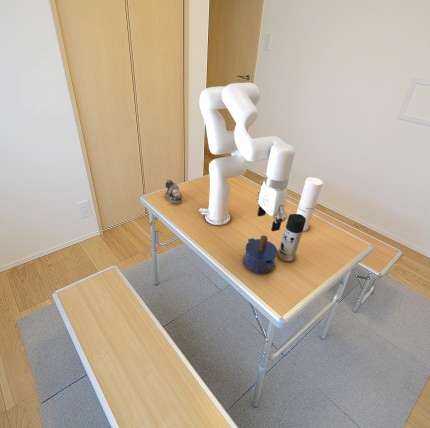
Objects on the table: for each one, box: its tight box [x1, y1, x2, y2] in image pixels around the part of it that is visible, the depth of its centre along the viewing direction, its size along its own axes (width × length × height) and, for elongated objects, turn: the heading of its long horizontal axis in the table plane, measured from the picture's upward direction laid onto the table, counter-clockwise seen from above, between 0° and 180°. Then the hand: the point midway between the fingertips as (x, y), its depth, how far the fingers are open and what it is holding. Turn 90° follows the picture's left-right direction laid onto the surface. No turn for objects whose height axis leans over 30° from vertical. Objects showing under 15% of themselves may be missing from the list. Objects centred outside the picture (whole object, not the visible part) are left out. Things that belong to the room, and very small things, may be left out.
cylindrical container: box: [295, 176, 324, 232], centre depth 129 cm, size 7×7×25 cm
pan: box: [244, 237, 276, 274], centre depth 112 cm, size 12×17×7 cm
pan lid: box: [245, 234, 279, 261], centre depth 108 cm, size 13×13×7 cm
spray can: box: [278, 213, 306, 262], centre depth 112 cm, size 7×7×20 cm
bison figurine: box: [164, 179, 183, 204], centre depth 147 cm, size 12×7×10 cm, turn 37°
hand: (267, 222), depth 102 cm, fingers open, 9 cm apart
